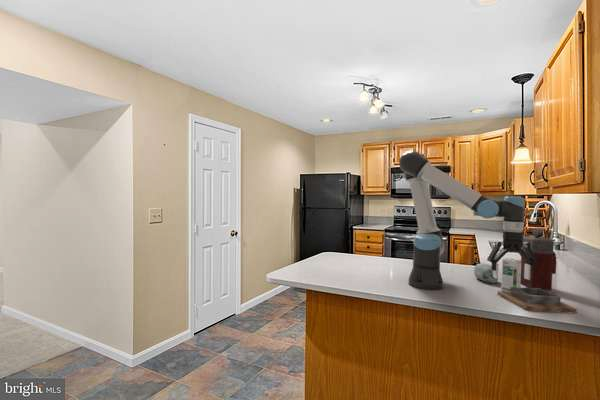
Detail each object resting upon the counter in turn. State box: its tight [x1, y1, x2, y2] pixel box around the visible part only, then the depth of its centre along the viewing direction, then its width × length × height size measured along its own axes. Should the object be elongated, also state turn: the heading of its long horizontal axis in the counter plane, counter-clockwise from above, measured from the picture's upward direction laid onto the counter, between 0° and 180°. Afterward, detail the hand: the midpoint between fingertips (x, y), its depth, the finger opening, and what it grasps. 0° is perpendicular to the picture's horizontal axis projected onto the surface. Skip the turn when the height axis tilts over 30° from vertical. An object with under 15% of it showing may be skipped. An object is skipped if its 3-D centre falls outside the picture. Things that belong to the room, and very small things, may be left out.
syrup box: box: [500, 257, 521, 292], centre depth 138 cm, size 6×6×14 cm
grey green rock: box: [473, 263, 499, 284], centre depth 156 cm, size 14×10×10 cm
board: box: [497, 286, 577, 314], centre depth 124 cm, size 18×18×4 cm
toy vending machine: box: [520, 227, 557, 291], centre depth 146 cm, size 9×11×28 cm
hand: (511, 278), depth 138 cm, fingers open, 13 cm apart
